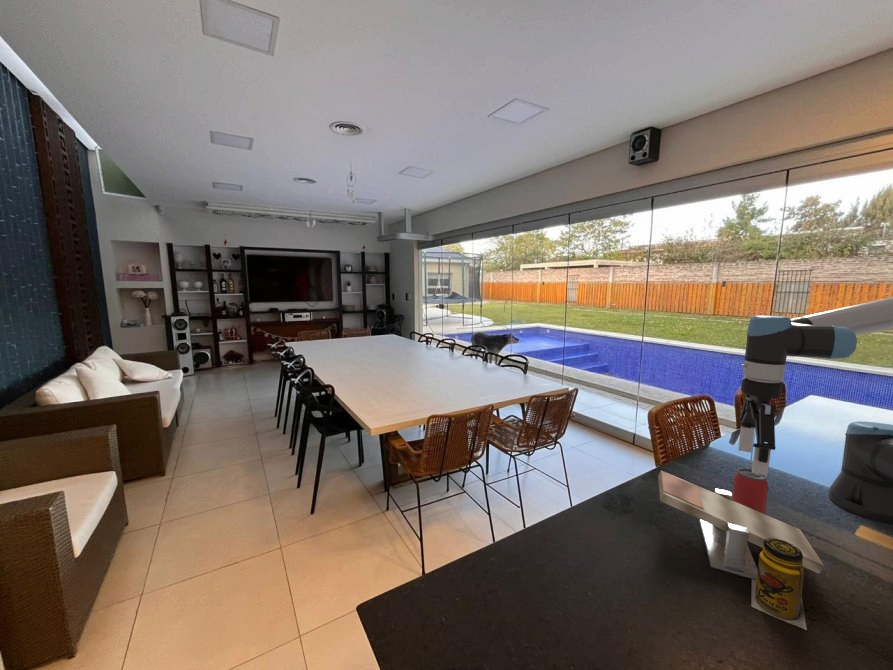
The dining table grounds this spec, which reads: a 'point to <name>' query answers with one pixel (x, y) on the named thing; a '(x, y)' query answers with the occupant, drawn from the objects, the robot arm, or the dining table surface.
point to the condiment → (780, 582)
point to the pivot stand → (729, 546)
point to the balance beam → (733, 516)
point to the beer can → (750, 490)
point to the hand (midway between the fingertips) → (751, 461)
